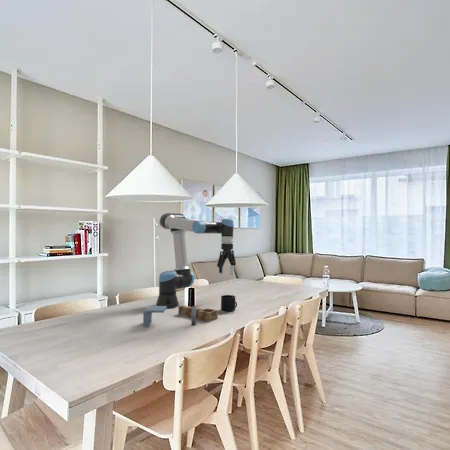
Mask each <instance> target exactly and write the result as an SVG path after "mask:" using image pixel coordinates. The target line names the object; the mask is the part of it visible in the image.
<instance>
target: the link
mask: <svg viewBox="0 0 450 450" xmlns="http://www.w3.org/2000/svg"><path fill="white" fill-rule="evenodd" d="M218 311H219V310H218V309H213V308H199V307H196V319H198V320H199V321H204V322H209V323H210V322H213V321H215V320H217V319H219V318H218V314H219V312H218ZM177 312H178V313H177V314H178V315H180V316H185V317H190V318H192V306H188V305H183V304H182V305H179V306H178V311H177Z"/></svg>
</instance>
